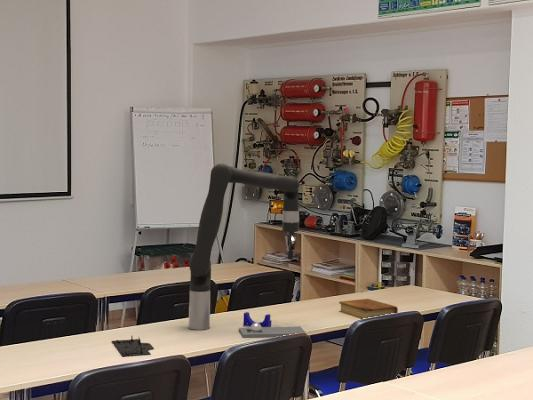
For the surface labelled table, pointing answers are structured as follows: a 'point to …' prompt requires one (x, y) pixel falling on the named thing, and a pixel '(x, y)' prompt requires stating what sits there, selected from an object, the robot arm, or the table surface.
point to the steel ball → (255, 327)
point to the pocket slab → (270, 332)
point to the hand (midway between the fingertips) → (290, 259)
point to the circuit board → (132, 347)
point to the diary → (366, 308)
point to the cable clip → (249, 322)
